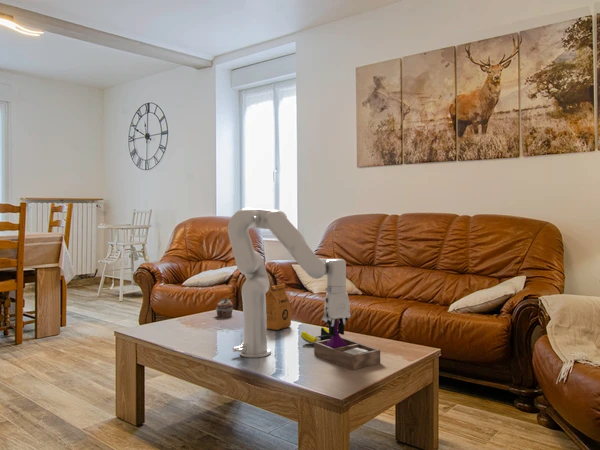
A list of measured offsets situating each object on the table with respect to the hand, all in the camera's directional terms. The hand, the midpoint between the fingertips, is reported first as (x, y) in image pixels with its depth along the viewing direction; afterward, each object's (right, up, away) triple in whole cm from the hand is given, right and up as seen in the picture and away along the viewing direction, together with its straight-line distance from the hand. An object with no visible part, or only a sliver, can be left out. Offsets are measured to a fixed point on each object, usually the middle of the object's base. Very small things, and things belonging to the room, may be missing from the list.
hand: (336, 334), depth 191 cm
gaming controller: (-6, -8, +19) cm, 22 cm away
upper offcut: (+7, -7, -10) cm, 14 cm away
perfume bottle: (0, -8, 0) cm, 8 cm away
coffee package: (-26, -8, +47) cm, 54 cm away
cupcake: (-58, -8, +78) cm, 97 cm away
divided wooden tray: (+3, -8, -4) cm, 10 cm away
